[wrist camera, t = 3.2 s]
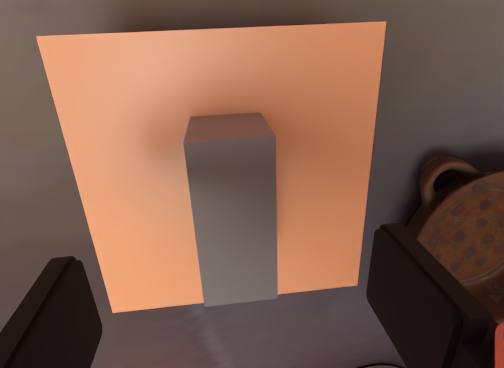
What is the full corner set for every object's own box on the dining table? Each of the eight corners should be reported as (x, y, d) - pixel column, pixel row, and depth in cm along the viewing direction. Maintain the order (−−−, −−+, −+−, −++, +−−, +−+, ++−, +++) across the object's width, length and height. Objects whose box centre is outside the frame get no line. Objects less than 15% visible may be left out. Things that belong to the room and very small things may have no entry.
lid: (364, 23, 18) (447, 15, 12) (343, 262, 24) (390, 341, 18) (60, 36, 17) (-34, 35, 10) (122, 285, 23) (88, 380, 17)
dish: (512, 93, 29) (569, 104, 24) (567, 255, 38) (616, 285, 33) (342, 206, 32) (364, 234, 27) (429, 333, 40) (457, 371, 36)
